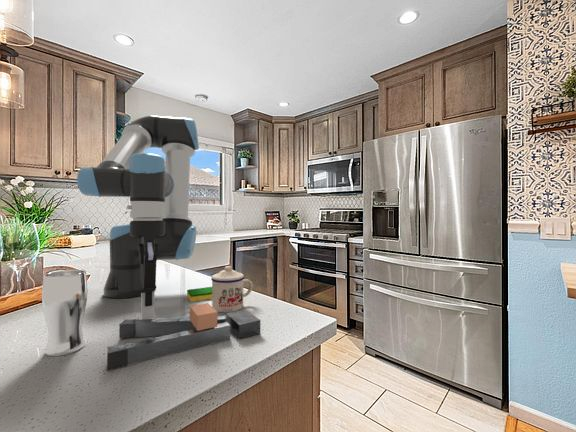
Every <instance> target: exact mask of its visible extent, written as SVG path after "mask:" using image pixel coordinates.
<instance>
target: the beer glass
mask: <svg viewBox="0 0 576 432" xmlns="http://www.w3.org/2000/svg"><path fill="white" fill-rule="evenodd" d="M42 279H43V280H42V288H41V291H42V292H41V301H42V303H41V304H42V309H43V315H44V319H45V323H46V328H47V334H48V335H47V342H46V348H45V355H46V356H48V357H61V356H66V355H69V354H72V353H75V352H77V351H80V350H82V349H83V348H84V347H85V345H86V341H85V337H84V331H83V325H84V324H83V323H84V317H85V312H86V308H87V307H86V306H87V301H88V281H87V280H88V279H87V271H86V270H85V269H66V270H58V271H57V270H56V271H52V272H47V273H45V274H43V278H42Z"/></svg>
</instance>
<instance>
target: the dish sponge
mask: <svg viewBox="0 0 576 432" xmlns="http://www.w3.org/2000/svg"><path fill="white" fill-rule="evenodd" d="M186 296H187V298H188V300H189V301H190V302H199V300H200V301H205V300H204V299H207V300H212V299H211V298H212V286H209V287H208V286H207V287H199V288H197V287H196V288H191V289H187V290H186Z"/></svg>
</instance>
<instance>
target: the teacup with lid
mask: <svg viewBox="0 0 576 432" xmlns="http://www.w3.org/2000/svg"><path fill="white" fill-rule="evenodd" d="M211 283H212V284H211V285H212V286H211V287H212V299H211V300H212V301H211V302H212V303H211V306H212V307H213V308H214V309H215V310H216V311H217V313H225V314H226V313H230V312H235V311H240V310H242V309H243V308H244V298H245V297H248V296H249V295H250V294H251V292H252V290H253V282H252V281H251V280H250V279H247V278H246V279H245V275H244V274H243V273H242V272H238V271H236V270H234V269H232V266H231V265H228V266H227V265H226V266H225V267H224V269H223V270H220V271H219V272H217V273H215V274H213V275H212V277H211ZM244 283H248V289H247V292H245V293H244Z"/></svg>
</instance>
